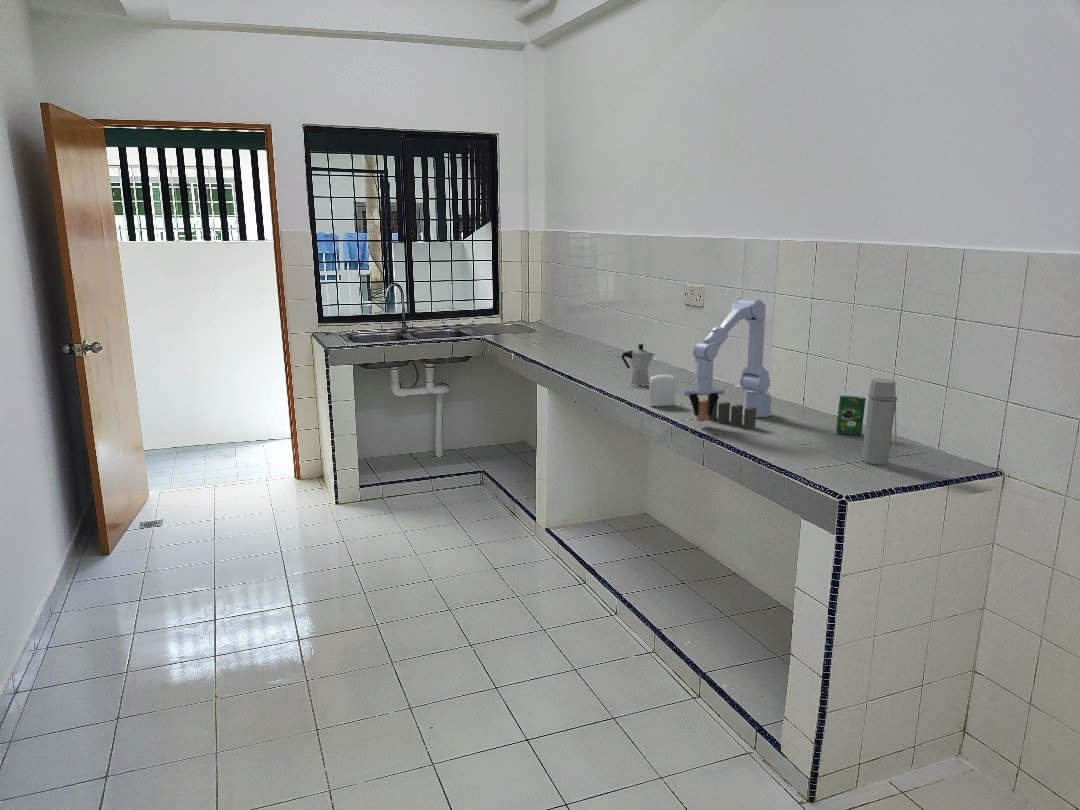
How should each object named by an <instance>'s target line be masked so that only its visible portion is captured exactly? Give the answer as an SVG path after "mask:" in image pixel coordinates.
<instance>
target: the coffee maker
mask: <svg viewBox="0 0 1080 810" xmlns="http://www.w3.org/2000/svg"><path fill="white" fill-rule="evenodd" d="M637 345H638V349H637V350H628V351H623V353H622V355H621V359H622V361H623V363H624V364H625V365H626V367H627V369H630V368H631V367H630V365H629V363H628V362H627V360H626V358H629V359H631V364H632V367H633V371H632V376H631V382H630V385H631V384H635V385H646V384H649V382H650V378H649V371H648V368H649V367H650V362H651V361H652V359H653V357H654V355H655V353H654V352H651V351H648V350H645V349H644V344H643V343H641V344H640V343H639V344H637Z"/></svg>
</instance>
